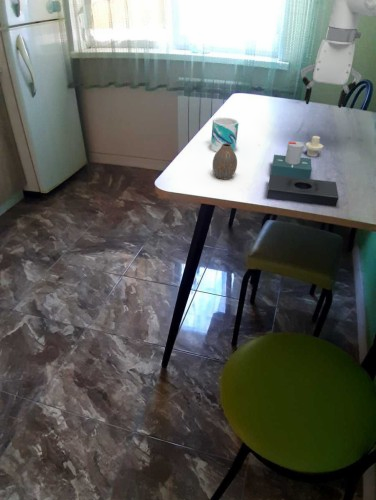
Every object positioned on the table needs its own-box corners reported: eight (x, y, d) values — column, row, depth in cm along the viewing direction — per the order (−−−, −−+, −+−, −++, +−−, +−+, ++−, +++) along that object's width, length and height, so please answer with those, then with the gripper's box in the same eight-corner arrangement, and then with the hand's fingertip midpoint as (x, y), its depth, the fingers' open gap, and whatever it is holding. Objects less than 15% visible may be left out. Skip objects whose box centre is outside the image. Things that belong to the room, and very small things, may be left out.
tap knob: (299, 159, 122) (304, 141, 118) (300, 165, 119) (304, 146, 115) (284, 158, 122) (288, 139, 119) (284, 163, 119) (288, 144, 116)
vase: (214, 181, 115) (217, 149, 109) (209, 172, 120) (211, 140, 114) (238, 181, 116) (242, 149, 110) (232, 171, 121) (235, 140, 115)
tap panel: (308, 168, 125) (311, 157, 123) (309, 180, 119) (311, 169, 117) (272, 164, 126) (274, 153, 124) (271, 175, 120) (273, 165, 118)
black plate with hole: (333, 190, 114) (335, 181, 112) (335, 206, 107) (338, 197, 105) (268, 183, 116) (270, 174, 114) (266, 198, 109) (268, 189, 107)
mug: (208, 150, 133) (210, 123, 127) (214, 139, 141) (217, 112, 136) (233, 153, 132) (236, 125, 126) (238, 141, 140) (241, 115, 135)
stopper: (320, 152, 136) (324, 135, 132) (321, 158, 132) (325, 141, 128) (303, 150, 136) (307, 133, 133) (303, 156, 132) (307, 139, 129)
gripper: (371, 36, 114) (350, 104, 126) (308, 30, 116) (294, 98, 128) (374, 41, 109) (353, 111, 121) (308, 34, 111) (294, 105, 122)
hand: (323, 104), depth 124 cm, fingers open, 9 cm apart
